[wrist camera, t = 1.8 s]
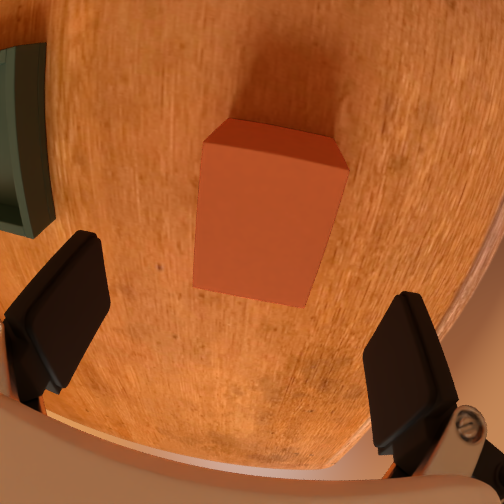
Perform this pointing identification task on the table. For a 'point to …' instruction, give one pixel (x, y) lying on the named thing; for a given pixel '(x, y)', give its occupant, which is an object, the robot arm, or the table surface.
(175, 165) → the table surface
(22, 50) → the tray
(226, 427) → the table surface
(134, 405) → the table surface
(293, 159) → the orange-red block
